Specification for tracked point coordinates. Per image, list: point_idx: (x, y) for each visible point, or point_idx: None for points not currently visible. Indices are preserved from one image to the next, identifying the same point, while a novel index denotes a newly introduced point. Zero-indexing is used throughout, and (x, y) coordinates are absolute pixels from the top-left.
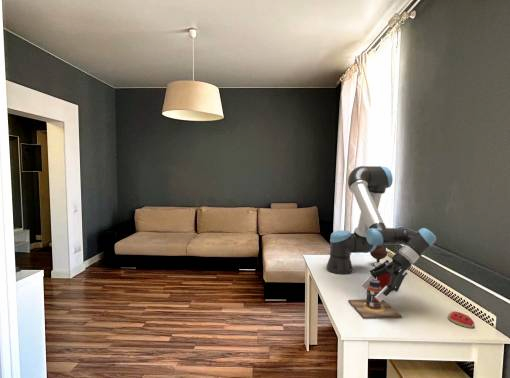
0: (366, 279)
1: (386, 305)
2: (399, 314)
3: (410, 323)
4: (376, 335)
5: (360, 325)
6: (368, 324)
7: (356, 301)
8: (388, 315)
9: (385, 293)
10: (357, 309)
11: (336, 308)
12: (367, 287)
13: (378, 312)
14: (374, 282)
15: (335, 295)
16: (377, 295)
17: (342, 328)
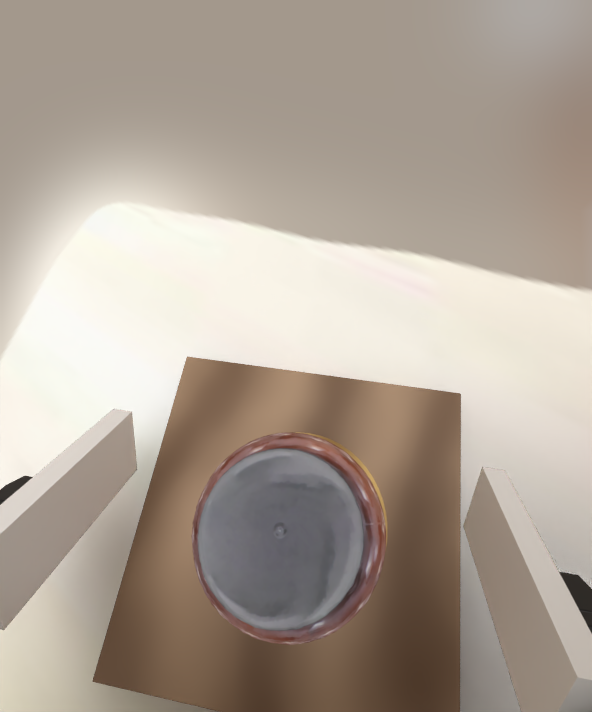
0: (538, 552)
1: (302, 686)
2: (114, 674)
3: (7, 677)
4: (18, 329)
5: (134, 305)
6: (126, 353)
7: (421, 440)
8: (134, 548)
9: (4, 491)
10: (287, 371)
11: (361, 277)
12: (317, 437)
13: None
14: (222, 479)
15: (583, 362)
16: (101, 425)
17: (144, 213)
